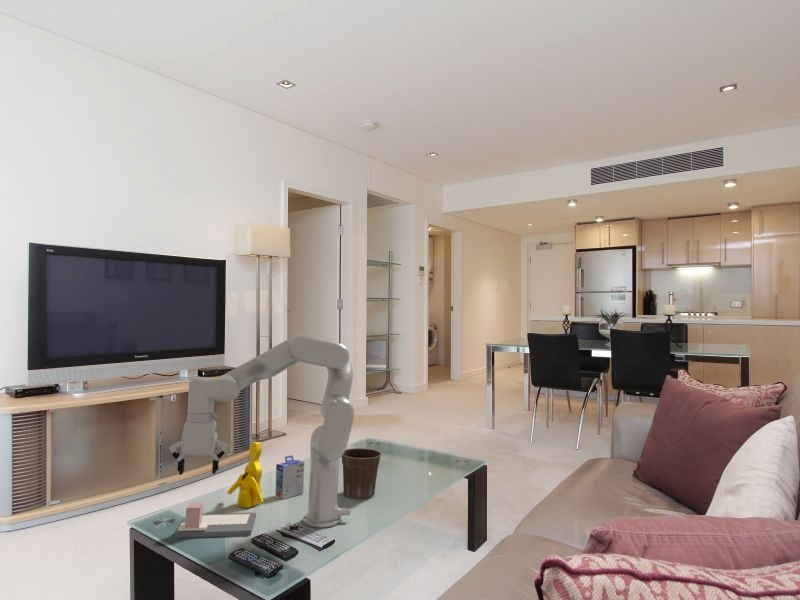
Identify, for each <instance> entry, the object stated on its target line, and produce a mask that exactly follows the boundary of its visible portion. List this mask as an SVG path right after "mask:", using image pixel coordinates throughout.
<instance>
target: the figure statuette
mask: <svg viewBox="0 0 800 600" xmlns="http://www.w3.org/2000/svg"><path fill="white" fill-rule="evenodd" d="M248 451H249V462H248V463H247V464H246V466H245V468H244V473H242V474H240V475H239V477H238V478H237V480H236V481H235V482H234V484H232V485H231V487H230V488H229V489H228V490H227V491H226V493H227V495H232V494H233V493H234V492H235V490H237V489H238V487H239V491H238V497H237V507H238V508H242V509H243V508H247V509H248V508H252V507H255V506H258V505H259V504H263V503H264V500H263V497H262V488H261V479H262V474H263V468H262V466H261V463H260V457H261V454H262V442H260V441H253V442H251V444H250V445H249V450H248Z"/></svg>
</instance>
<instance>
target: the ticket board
mask: <svg viewBox="0 0 800 600" xmlns="http://www.w3.org/2000/svg"><path fill="white" fill-rule="evenodd" d="M256 518H257V513H256V512H253V513H252V512H251V513H248V512H247V513H217V514H216V513H215V514H214V513H213V514H207V513H206V514H202V522H209V523H208V527H207V529H206V530H196V531H178V529H177V530H176V531H175V533H174V534H175V536H174V537H175V538H176V539H184V538H185V537H186V538H187V537H188V538H212V537H213V538H214V537H241V536H244V537H245V536H247V537H248V536H252V533H253V529H254V527H255V522H256ZM185 521H186V517H185V518H184V519H183V520H182V522H181V523H185ZM181 537H182V538H181ZM183 537H184V538H183Z"/></svg>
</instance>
